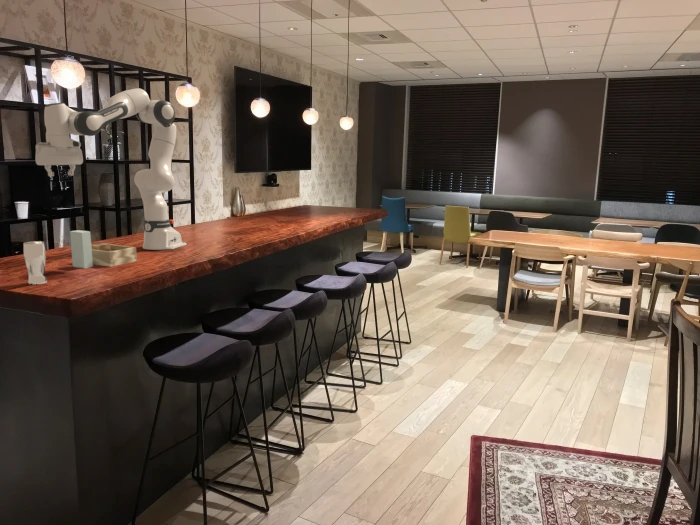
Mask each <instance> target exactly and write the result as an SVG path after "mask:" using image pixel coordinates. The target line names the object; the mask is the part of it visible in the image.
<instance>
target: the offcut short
mask: <svg viewBox="0 0 700 525" xmlns="http://www.w3.org/2000/svg"><path fill="white" fill-rule="evenodd" d="M110 244H111V243H105V242H102V243H96V244H91V247H92V249H93V250H101V251H111V248H110Z"/></svg>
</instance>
